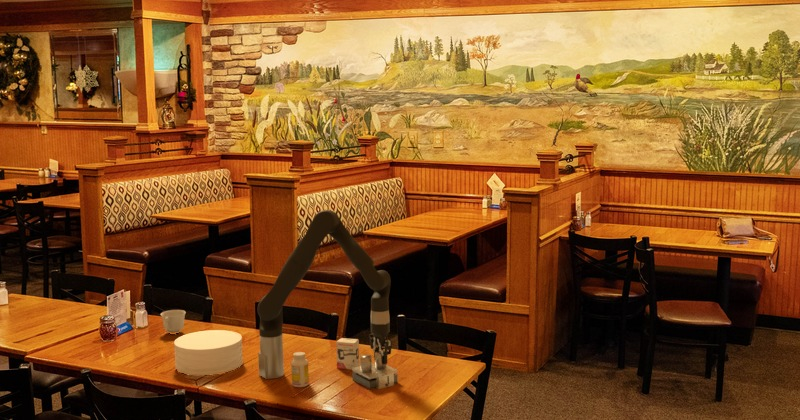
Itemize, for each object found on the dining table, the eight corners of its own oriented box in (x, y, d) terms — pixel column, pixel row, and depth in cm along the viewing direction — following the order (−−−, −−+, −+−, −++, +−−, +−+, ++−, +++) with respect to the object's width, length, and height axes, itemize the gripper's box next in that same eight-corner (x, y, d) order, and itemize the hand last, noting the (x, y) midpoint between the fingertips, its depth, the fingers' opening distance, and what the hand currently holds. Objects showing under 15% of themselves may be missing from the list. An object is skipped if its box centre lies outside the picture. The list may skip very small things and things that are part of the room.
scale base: (372, 390, 325) (372, 378, 325) (352, 380, 338) (352, 368, 337) (400, 383, 332) (400, 371, 332) (379, 373, 345) (379, 361, 344)
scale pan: (369, 381, 327) (369, 376, 326) (352, 372, 337) (352, 367, 337) (397, 375, 334) (397, 370, 334) (379, 366, 345) (379, 361, 344)
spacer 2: (379, 369, 334) (378, 354, 333) (373, 366, 338) (372, 352, 337) (388, 367, 336) (388, 352, 336) (382, 364, 340) (382, 350, 339)
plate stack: (162, 366, 359) (161, 340, 357) (217, 351, 379) (216, 326, 377) (200, 381, 340) (198, 353, 338) (256, 364, 360) (255, 338, 358)
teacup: (154, 338, 400) (153, 317, 398) (168, 329, 414) (166, 309, 413) (178, 338, 398) (177, 318, 396) (191, 329, 412) (190, 310, 411)
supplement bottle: (306, 381, 337) (305, 350, 336) (310, 386, 331) (309, 355, 329) (290, 383, 335) (289, 352, 333) (293, 388, 329) (292, 357, 327)
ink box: (336, 368, 352) (335, 341, 351) (340, 364, 357) (340, 337, 355) (355, 370, 350) (355, 342, 348) (359, 366, 354) (359, 339, 353)
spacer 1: (364, 373, 330) (363, 358, 329) (358, 370, 334) (358, 355, 333) (373, 371, 332) (373, 356, 332) (367, 368, 336) (367, 353, 335)
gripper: (362, 318, 338) (363, 359, 340) (381, 326, 326) (382, 368, 329) (378, 315, 342) (379, 356, 345) (398, 323, 330) (398, 365, 333)
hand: (380, 362), depth 337 cm, fingers open, 5 cm apart
